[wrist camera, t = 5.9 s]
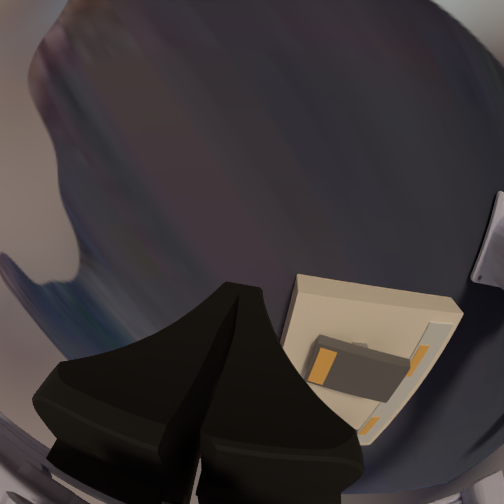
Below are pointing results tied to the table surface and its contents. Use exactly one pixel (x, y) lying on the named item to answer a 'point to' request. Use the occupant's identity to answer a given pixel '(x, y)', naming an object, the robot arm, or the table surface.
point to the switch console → (368, 338)
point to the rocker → (356, 369)
